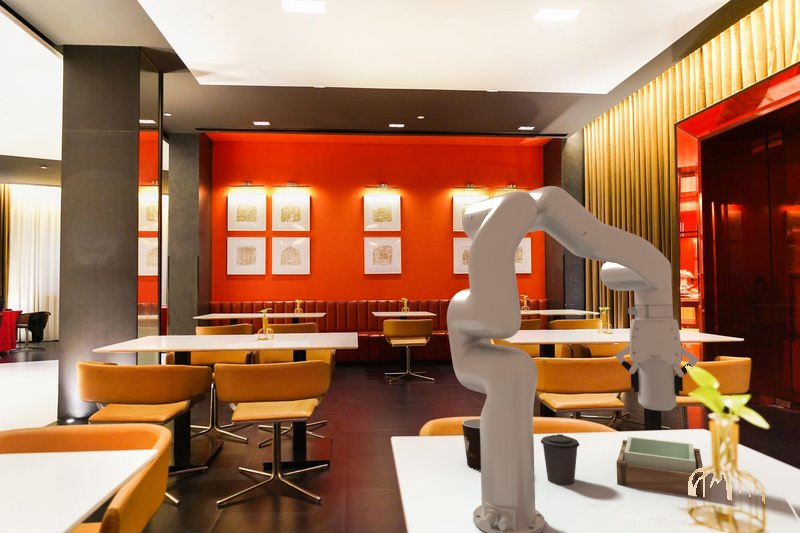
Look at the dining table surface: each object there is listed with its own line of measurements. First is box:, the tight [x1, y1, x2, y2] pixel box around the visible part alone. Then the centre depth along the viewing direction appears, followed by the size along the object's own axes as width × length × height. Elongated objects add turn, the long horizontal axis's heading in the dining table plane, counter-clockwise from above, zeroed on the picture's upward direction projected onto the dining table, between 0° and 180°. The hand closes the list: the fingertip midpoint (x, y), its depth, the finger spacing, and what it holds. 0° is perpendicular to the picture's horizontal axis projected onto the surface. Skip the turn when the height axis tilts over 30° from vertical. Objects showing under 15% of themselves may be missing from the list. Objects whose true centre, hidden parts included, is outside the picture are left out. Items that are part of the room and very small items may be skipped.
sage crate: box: [624, 436, 696, 473], centre depth 108 cm, size 13×13×6 cm
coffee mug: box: [461, 418, 481, 471], centre depth 117 cm, size 12×9×10 cm
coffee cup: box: [540, 433, 580, 486], centre depth 107 cm, size 8×8×10 cm
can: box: [637, 355, 677, 412], centre depth 109 cm, size 8×8×12 cm
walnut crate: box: [616, 439, 707, 499], centre depth 108 cm, size 18×16×5 cm
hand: (656, 392), depth 109 cm, fingers closed on can, 7 cm apart
